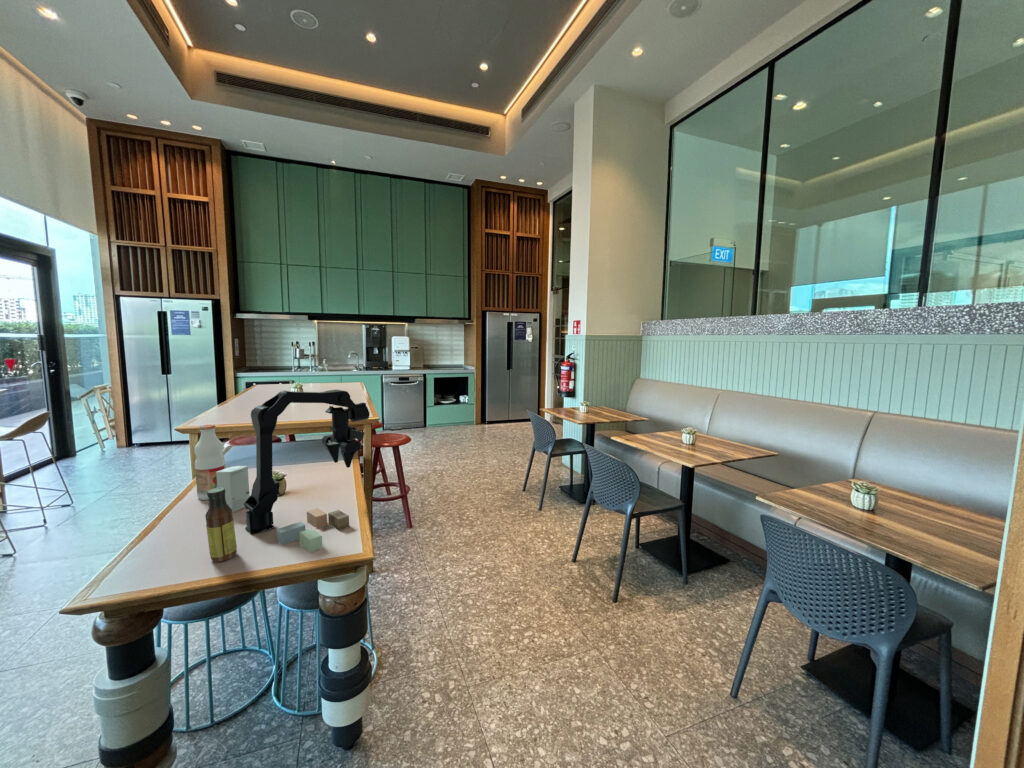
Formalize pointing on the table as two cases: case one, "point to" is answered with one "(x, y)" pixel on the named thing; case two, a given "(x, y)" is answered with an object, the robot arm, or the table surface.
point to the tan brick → (317, 517)
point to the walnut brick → (338, 520)
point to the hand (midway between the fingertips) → (342, 464)
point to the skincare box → (234, 485)
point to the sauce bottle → (220, 527)
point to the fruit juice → (208, 460)
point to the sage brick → (310, 540)
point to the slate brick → (289, 533)
